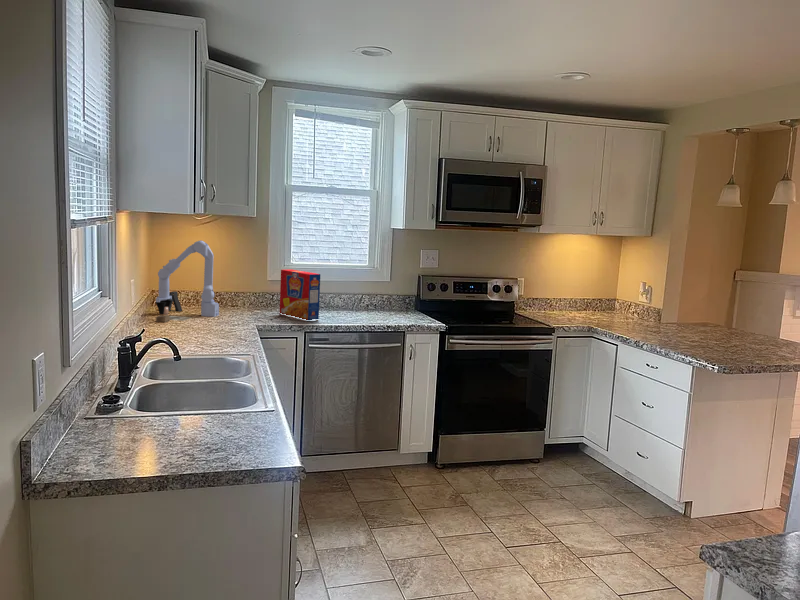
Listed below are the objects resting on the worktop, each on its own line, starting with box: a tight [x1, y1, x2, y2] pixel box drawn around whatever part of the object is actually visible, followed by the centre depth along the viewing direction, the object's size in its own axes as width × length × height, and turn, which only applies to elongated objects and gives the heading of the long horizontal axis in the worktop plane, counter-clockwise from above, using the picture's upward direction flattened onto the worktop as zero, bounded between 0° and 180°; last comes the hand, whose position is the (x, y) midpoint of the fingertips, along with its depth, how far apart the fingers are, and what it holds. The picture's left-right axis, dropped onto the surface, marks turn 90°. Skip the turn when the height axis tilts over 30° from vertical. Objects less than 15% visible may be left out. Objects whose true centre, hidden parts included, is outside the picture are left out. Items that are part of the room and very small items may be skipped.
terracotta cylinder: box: [158, 306, 169, 316], centre depth 344 cm, size 5×5×5 cm
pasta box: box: [279, 269, 321, 320], centre depth 362 cm, size 28×8×28 cm, turn 47°
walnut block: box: [155, 314, 171, 323], centre depth 322 cm, size 5×5×4 cm
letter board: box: [165, 314, 193, 322], centre depth 334 cm, size 16×12×1 cm
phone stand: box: [168, 291, 183, 313], centre depth 358 cm, size 9×6×12 cm, turn 90°
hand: (163, 313), depth 344 cm, fingers closed on terracotta cylinder, 5 cm apart
